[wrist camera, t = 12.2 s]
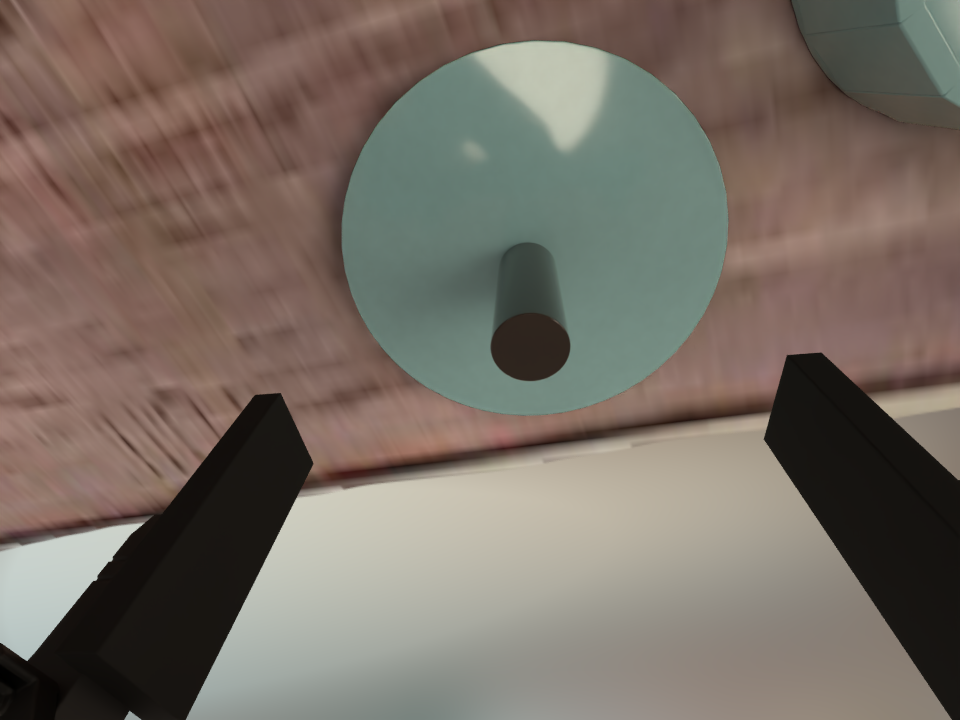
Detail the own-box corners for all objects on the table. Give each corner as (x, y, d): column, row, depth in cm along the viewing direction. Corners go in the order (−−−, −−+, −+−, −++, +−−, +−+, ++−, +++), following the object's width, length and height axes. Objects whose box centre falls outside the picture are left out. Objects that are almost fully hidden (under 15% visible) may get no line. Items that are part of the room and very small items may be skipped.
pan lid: (470, 443, 30) (455, 561, 23) (271, 196, 22) (151, 257, 15) (764, 322, 24) (870, 432, 17) (631, -79, 16) (724, -203, 9)
